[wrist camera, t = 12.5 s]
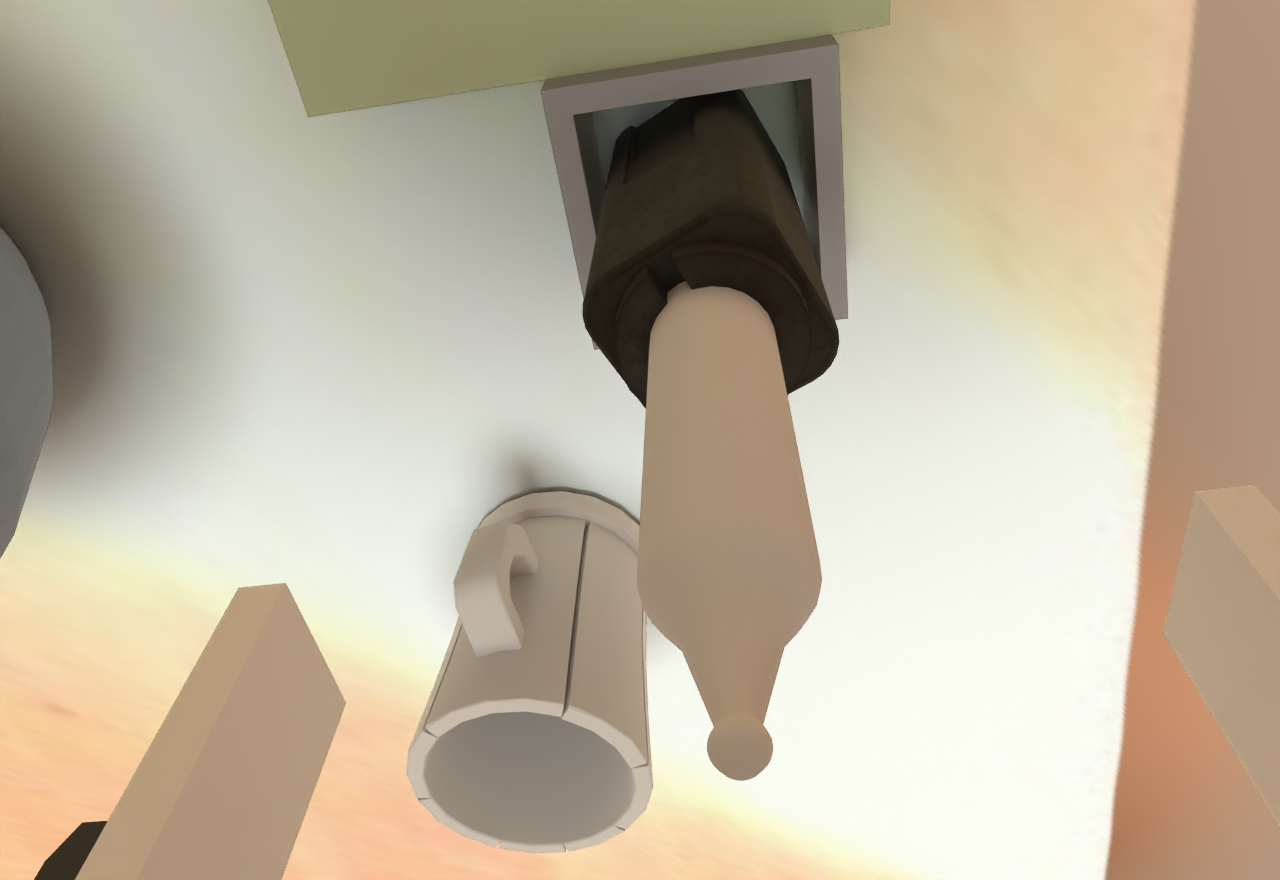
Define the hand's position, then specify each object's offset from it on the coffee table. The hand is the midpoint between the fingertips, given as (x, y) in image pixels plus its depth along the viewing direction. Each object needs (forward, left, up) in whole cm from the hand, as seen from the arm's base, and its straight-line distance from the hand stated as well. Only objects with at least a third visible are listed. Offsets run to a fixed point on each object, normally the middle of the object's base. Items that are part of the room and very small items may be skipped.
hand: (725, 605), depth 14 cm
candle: (0, 0, -22) cm, 22 cm away
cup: (-9, -17, -22) cm, 30 cm away
